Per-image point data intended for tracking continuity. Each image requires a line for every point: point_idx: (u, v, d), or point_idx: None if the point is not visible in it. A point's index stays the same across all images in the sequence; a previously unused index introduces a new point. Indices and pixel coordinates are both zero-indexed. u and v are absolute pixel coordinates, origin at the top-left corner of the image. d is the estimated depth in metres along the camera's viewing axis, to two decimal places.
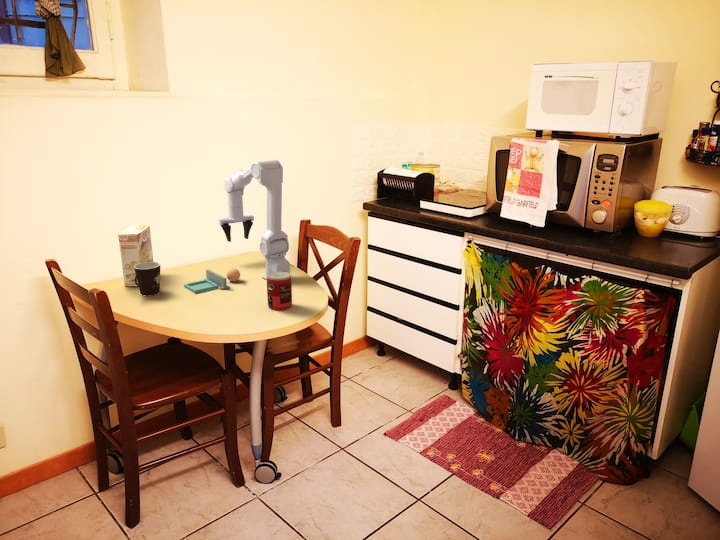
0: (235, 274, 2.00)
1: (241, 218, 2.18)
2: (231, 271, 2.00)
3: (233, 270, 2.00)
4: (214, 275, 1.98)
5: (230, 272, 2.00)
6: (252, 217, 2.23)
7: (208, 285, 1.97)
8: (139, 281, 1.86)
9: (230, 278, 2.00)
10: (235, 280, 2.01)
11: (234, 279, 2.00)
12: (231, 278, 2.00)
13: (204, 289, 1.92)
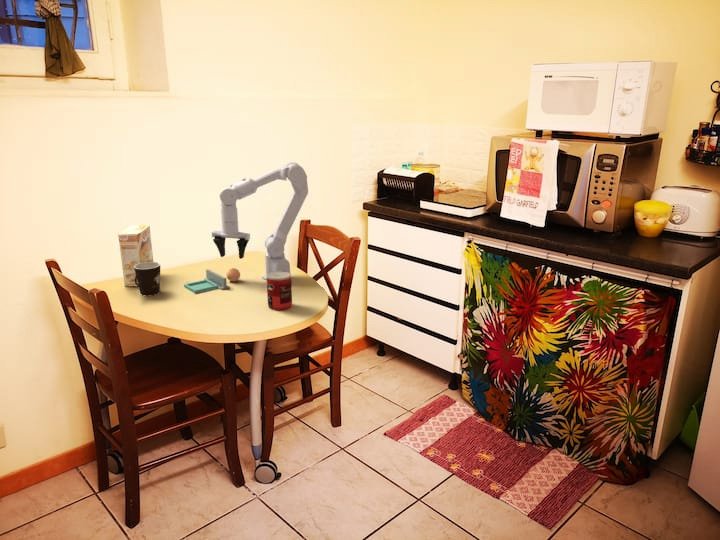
0: (235, 274, 2.00)
1: (229, 234, 1.94)
2: (231, 271, 2.00)
3: (233, 270, 2.00)
4: (214, 275, 1.98)
5: (230, 272, 2.00)
6: (245, 236, 1.95)
7: (208, 285, 1.97)
8: (139, 281, 1.86)
9: (230, 278, 2.00)
10: (235, 280, 2.01)
11: (234, 279, 2.00)
12: (231, 278, 2.00)
13: (204, 289, 1.92)
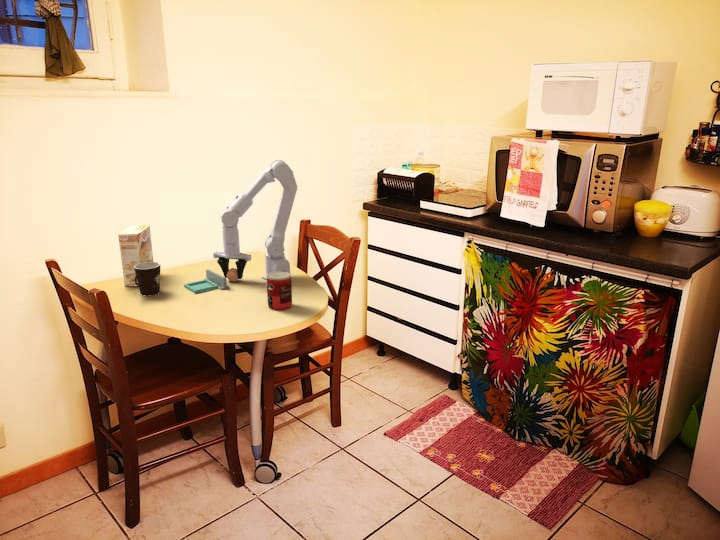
0: (235, 274, 2.00)
1: (230, 255, 1.97)
2: (231, 271, 2.00)
3: (233, 270, 2.00)
4: (214, 275, 1.98)
5: (230, 272, 2.00)
6: (247, 257, 1.97)
7: (208, 285, 1.97)
8: (139, 281, 1.86)
9: (230, 278, 2.00)
10: (235, 280, 2.01)
11: (234, 279, 2.00)
12: (231, 278, 2.00)
13: (204, 289, 1.92)
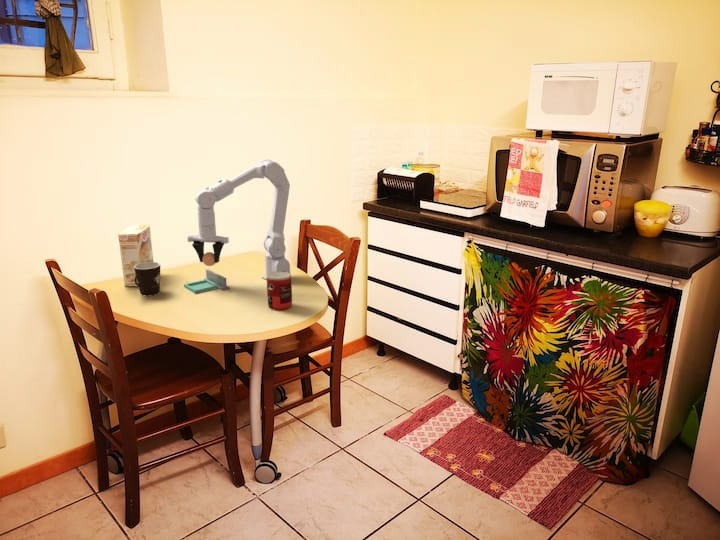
0: (212, 258, 1.93)
1: (207, 238, 1.90)
2: (207, 255, 1.93)
3: (210, 254, 1.93)
4: (214, 275, 1.98)
5: (206, 256, 1.93)
6: (224, 239, 1.91)
7: (208, 285, 1.97)
8: (139, 281, 1.86)
9: (206, 262, 1.93)
10: (212, 264, 1.94)
11: (211, 263, 1.93)
12: (207, 262, 1.93)
13: (204, 289, 1.92)
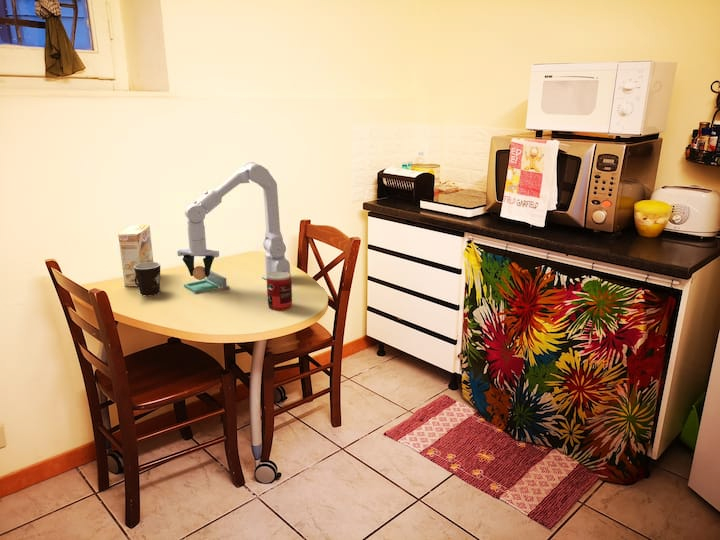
0: (202, 272, 1.92)
1: (197, 252, 1.89)
2: (198, 269, 1.92)
3: (200, 268, 1.92)
4: (214, 275, 1.98)
5: (197, 270, 1.92)
6: (215, 253, 1.90)
7: (208, 285, 1.97)
8: (139, 281, 1.86)
9: (197, 276, 1.92)
10: (202, 278, 1.93)
11: (201, 277, 1.93)
12: (198, 276, 1.92)
13: (204, 289, 1.92)
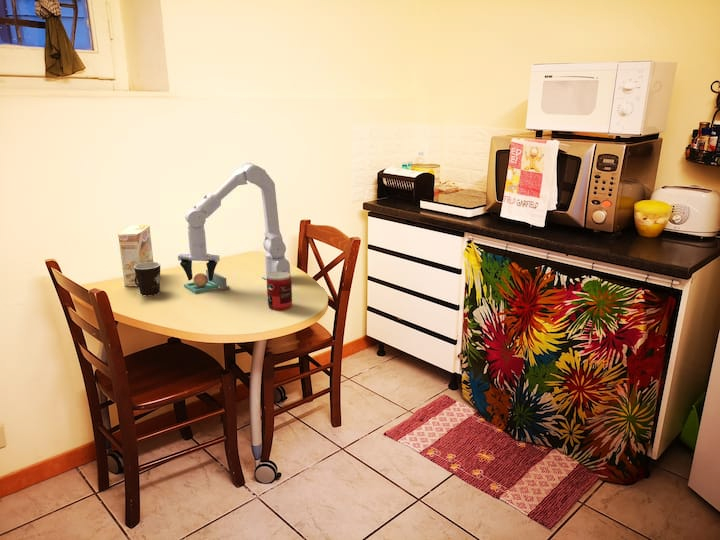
0: (203, 279, 1.93)
1: (198, 257, 1.89)
2: (198, 277, 1.93)
3: (201, 275, 1.93)
4: (214, 275, 1.98)
5: (198, 278, 1.93)
6: (215, 258, 1.91)
7: (208, 285, 1.97)
8: (139, 281, 1.86)
9: (198, 284, 1.93)
10: (203, 286, 1.94)
11: (202, 285, 1.93)
12: (199, 284, 1.93)
13: (204, 289, 1.92)
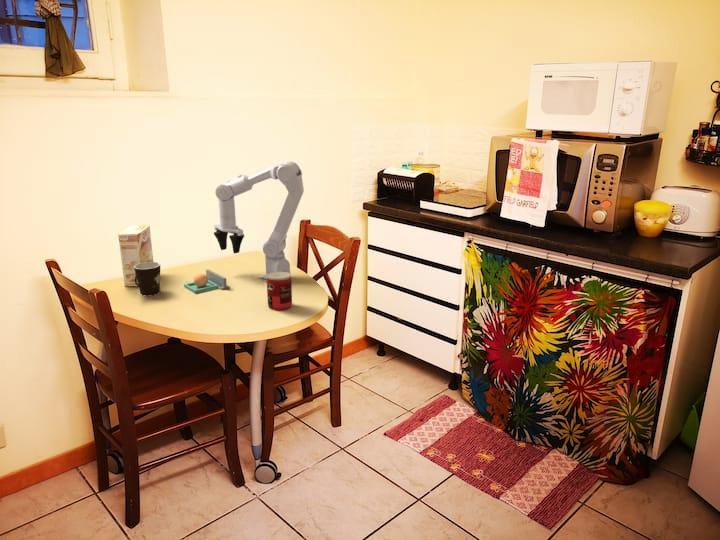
0: (203, 279, 1.93)
1: (224, 228, 2.01)
2: (198, 277, 1.93)
3: (201, 275, 1.93)
4: (214, 275, 1.98)
5: (198, 278, 1.92)
6: (237, 231, 1.99)
7: (208, 285, 1.97)
8: (139, 281, 1.86)
9: (198, 284, 1.93)
10: (203, 286, 1.94)
11: (202, 285, 1.93)
12: (199, 284, 1.93)
13: (204, 289, 1.92)
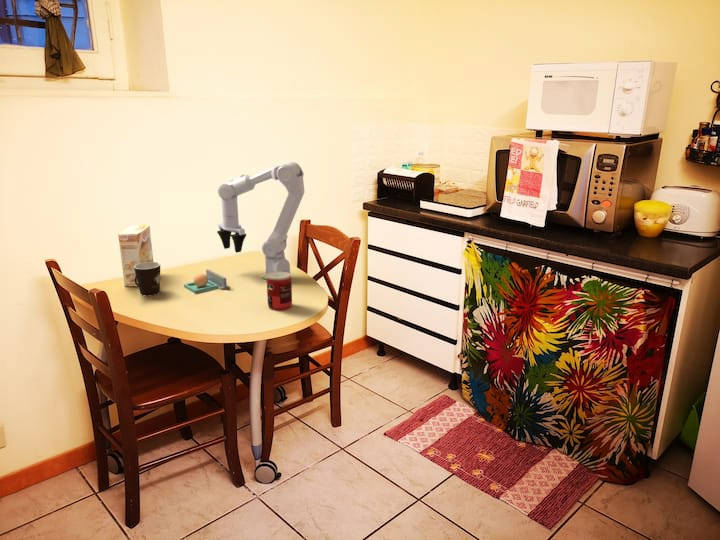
0: (203, 279, 1.93)
1: (226, 227, 2.02)
2: (199, 277, 1.93)
3: (201, 275, 1.93)
4: (214, 275, 1.98)
5: (198, 278, 1.92)
6: (239, 231, 2.00)
7: (208, 285, 1.97)
8: (139, 281, 1.86)
9: (198, 284, 1.93)
10: (203, 286, 1.94)
11: (202, 285, 1.93)
12: (199, 284, 1.93)
13: (204, 289, 1.92)
